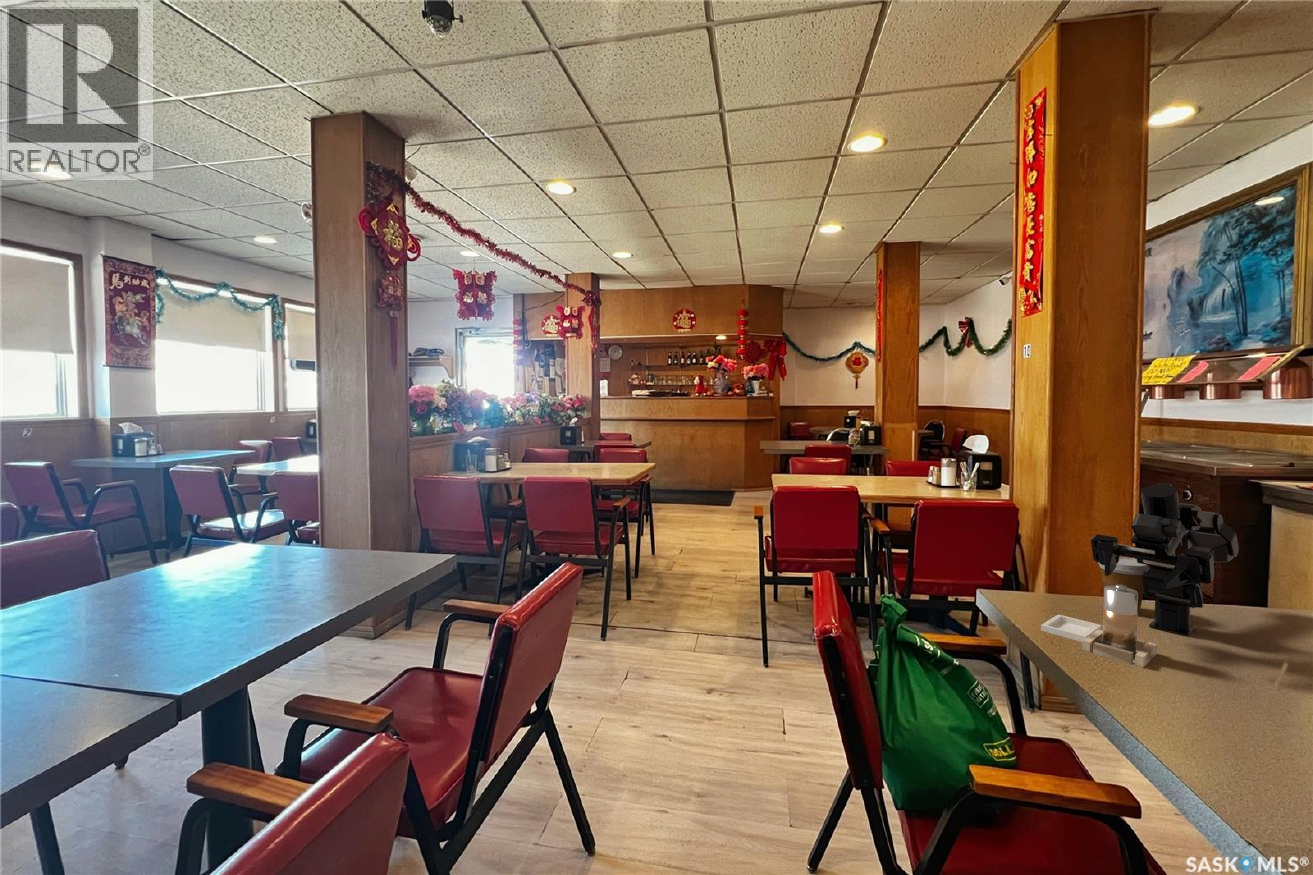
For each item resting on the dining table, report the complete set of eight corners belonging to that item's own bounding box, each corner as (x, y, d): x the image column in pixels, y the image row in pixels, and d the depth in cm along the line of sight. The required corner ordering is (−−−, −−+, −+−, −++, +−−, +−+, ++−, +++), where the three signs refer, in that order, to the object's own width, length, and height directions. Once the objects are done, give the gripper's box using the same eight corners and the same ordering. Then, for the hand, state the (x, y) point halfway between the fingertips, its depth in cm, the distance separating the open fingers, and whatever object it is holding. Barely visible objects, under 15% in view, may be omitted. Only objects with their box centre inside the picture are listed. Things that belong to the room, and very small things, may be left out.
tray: (1058, 622, 126) (1058, 614, 126) (1101, 633, 119) (1101, 625, 119) (1040, 633, 120) (1041, 625, 120) (1085, 645, 113) (1085, 636, 113)
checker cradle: (1097, 640, 116) (1098, 629, 115) (1156, 656, 108) (1157, 644, 108) (1082, 652, 110) (1082, 640, 110) (1143, 670, 102) (1143, 657, 102)
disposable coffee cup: (1088, 602, 138) (1089, 555, 138) (1130, 603, 137) (1131, 556, 136) (1114, 616, 129) (1115, 566, 128) (1159, 617, 127) (1161, 566, 127)
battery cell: (1107, 644, 113) (1108, 580, 112) (1139, 653, 108) (1141, 586, 108) (1098, 651, 110) (1100, 585, 109) (1132, 660, 105) (1133, 592, 105)
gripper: (1102, 499, 122) (1073, 536, 114) (1220, 513, 106) (1195, 557, 99) (1107, 541, 125) (1080, 580, 117) (1223, 561, 109) (1199, 607, 102)
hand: (1134, 580), depth 109 cm, fingers open, 9 cm apart
